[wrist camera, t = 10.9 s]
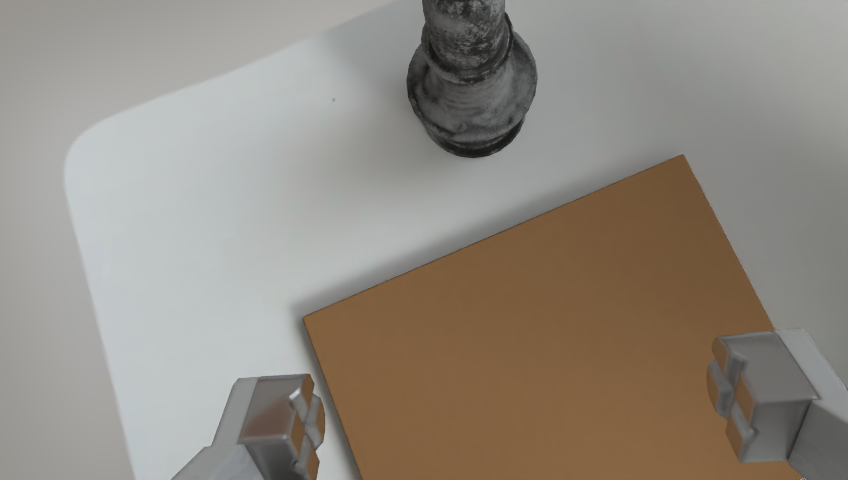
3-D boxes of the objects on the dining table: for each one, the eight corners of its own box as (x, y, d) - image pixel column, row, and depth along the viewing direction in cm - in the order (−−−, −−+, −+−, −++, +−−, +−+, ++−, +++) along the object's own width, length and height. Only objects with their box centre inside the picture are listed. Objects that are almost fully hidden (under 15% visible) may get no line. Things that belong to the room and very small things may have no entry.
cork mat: (418, 621, 26) (416, 628, 26) (305, 317, 29) (301, 317, 28) (836, 459, 25) (844, 462, 25) (679, 156, 28) (683, 153, 27)
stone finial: (432, 176, 29) (389, 80, 17) (405, 70, 30) (347, -89, 18) (546, 146, 29) (582, 25, 17) (515, 39, 30) (528, -146, 18)
